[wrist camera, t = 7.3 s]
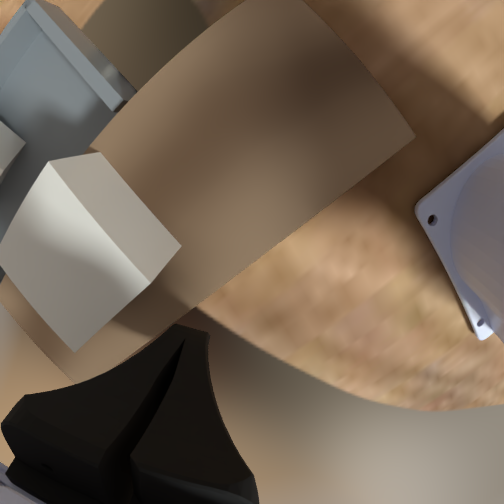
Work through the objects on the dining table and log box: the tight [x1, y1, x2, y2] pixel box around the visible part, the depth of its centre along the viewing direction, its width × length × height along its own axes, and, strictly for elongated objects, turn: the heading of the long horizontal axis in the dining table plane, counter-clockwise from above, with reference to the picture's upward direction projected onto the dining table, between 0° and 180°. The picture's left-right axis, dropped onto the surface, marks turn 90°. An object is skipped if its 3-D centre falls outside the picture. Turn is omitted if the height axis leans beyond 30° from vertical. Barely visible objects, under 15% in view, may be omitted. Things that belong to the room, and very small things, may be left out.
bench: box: [0, 0, 416, 384], centre depth 12 cm, size 7×19×3 cm, turn 130°
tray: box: [0, 0, 137, 284], centre depth 12 cm, size 9×13×2 cm, turn 130°
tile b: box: [0, 152, 181, 353], centre depth 10 cm, size 4×4×3 cm
